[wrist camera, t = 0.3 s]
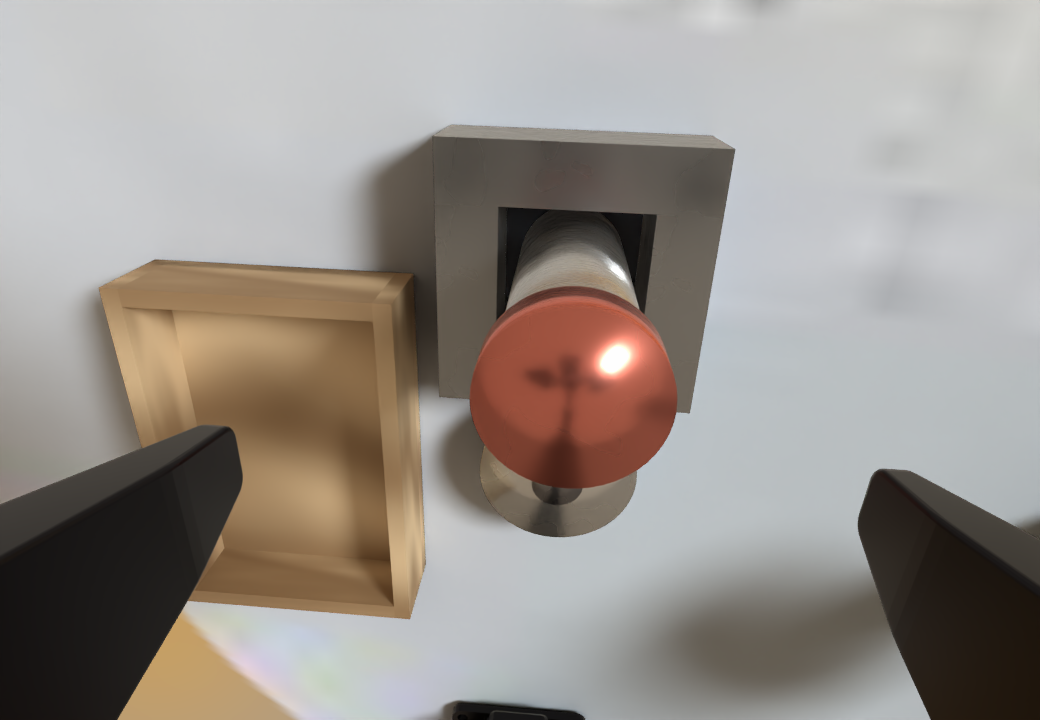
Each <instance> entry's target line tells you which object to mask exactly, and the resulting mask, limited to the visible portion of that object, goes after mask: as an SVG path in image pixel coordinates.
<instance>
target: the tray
mask: <svg viewBox="0 0 1040 720" xmlns="http://www.w3.org/2000/svg"><path fill="white" fill-rule="evenodd" d="M99 291H100V295H101V299H102V302H103V306H104V310H105V314H106V317H107V321H108V325H109V328H110V332H111V336H112V339H113V343H114V347H115V350H116V354H117V358H118V362H119V365H120V369H121V373H122V376H123V380H124V384H125V387H126V391H127V395H128V399H129V402H130V406H131V410H132V413H133V417H134V421H135V424H136V428H137V432H138V436H139V439H140V443H141V447H142V448H144V447H146V446H149V445H151V444H154V443H156V442H159V441H161V440H164V439H167V438H169V437H172V436H174V435H177V434H179V433H182V432H184V431H187V430H189V429H192V428H194V427H197V426H199V425H220V426H228V427H230V428H231V429H232V430H233V431H234V433H235V436H236V440H237V445H238V450H239V456H240V461H241V466H242V472H243V483H242V487H241V491H240V493H239V495H238V498H237V500H236V502H235V504H234V506H233V509H232V511H231V513H230V515H229V517H228V520H227V522H226V524H225V526H224V528H223V531H222V533H221V535H220V537H219V539H218V542H217V544H216V546H215V548H214V550H213V552H212V555H211V557H210V559H209V561H208V563H207V566H206V568H205V570H204V572H203V574H202V576H201V578H200V580H199V582H198V583H197V585H196V587H195V589H194V591H193V592H192V594H191V596H190V598H189V599H188V601H197V602H209V603H221V604H233V605H245V606H257V607H270V608H282V609H294V610H306V611H318V612H330V613H342V614H354V615H366V616H378V617H390V618H402V619H410V617H411V614H412V610H413V607H414V603H415V600H416V596H417V593H418V589H419V586H420V582H421V579H422V575H423V572H424V568H425V565H426V560H425V537H424V513H423V490H422V466H421V443H420V419H419V396H418V372H417V349H416V325H415V302H414V278H413V274H411V273H393V272H374V271H356V270H338V269H319V268H301V267H283V266H264V265H246V264H228V263H209V262H191V261H173V260H153V261H151V262H149V263H147V264H145V265H143V266H141V267H139V268H137V269H135V270H133V271H131V272H129V273H127V274H125V275H123V276H121V277H119V278H117V279H115V280H113V281H111V282H109V283H107V284H105V285H103V286H101V287H99Z"/></svg>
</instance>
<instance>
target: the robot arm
mask: <svg viewBox="0 0 1040 720" xmlns="http://www.w3.org/2000/svg"><path fill="white" fill-rule="evenodd" d="M242 483H243V472H242V466H241V461H240V456H239V450H238V445H237V440H236V436H235V433H234V431H233V430H232V429H231V428H230V427H228V426H220V425H199V426H197V427H194V428H192V429H189V430H187V431H184V432H182V433H179V434H177V435H174V436H172V437H169V438H167V439H164V440H161V441H159V442H156V443H154V444H151V445H149V446H146V447H144V448H141V449H139V450H136V451H134V452H131V453H129V454H126V455H124V456H121V457H119V458H116V459H114V460H111V461H109V462H106V463H104V464H101V465H99V466H96V467H94V468H91V469H88V470H86V471H83V472H81V473H78V474H76V475H73V476H71V477H68V478H66V479H63V480H61V481H58V482H56V483H53V484H51V485H48V486H46V487H43V488H41V489H38V490H36V491H33V492H31V493H28V494H26V495H23V496H21V497H18V498H15V499H13V500H10V501H8V502H5V503H3V504H0V720H117V719H118V717H119V716H120V714H121V712H122V711H123V709H124V707H125V706H126V704H127V702H128V701H129V699H130V697H131V695H132V694H133V692H134V690H135V689H136V687H137V685H138V684H139V682H140V680H141V679H142V677H143V675H144V673H145V672H146V670H147V669H148V667H149V665H150V663H151V662H152V660H153V658H154V657H155V655H156V653H157V652H158V650H159V648H160V647H161V645H162V643H163V641H164V640H165V638H166V636H167V635H168V633H169V631H170V630H171V628H172V626H173V624H174V623H175V621H176V619H177V618H178V616H179V615H180V613H181V611H182V609H183V608H184V606H185V604H186V603H187V601H188V599H189V598H190V596H191V594H192V592H193V591H194V589H195V587H196V585H197V583H198V582H199V580H200V578H201V576H202V574H203V572H204V570H205V568H206V566H207V563H208V561H209V559H210V557H211V555H212V552H213V550H214V548H215V546H216V544H217V542H218V539H219V537H220V535H221V533H222V531H223V528H224V526H225V524H226V522H227V520H228V517H229V515H230V513H231V511H232V509H233V506H234V504H235V502H236V500H237V498H238V495H239V493H240V491H241V487H242ZM858 532H859V536H860V539H861V542H862V545H863V548H864V551H865V554H866V557H867V560H868V563H869V566H870V570H871V573H872V576H873V579H874V582H875V585H876V588H877V591H878V594H879V597H880V600H881V603H882V606H883V609H884V612H885V615H886V618H887V621H888V623H889V626H890V629H891V632H892V634H893V637H894V639H895V641H896V644H897V646H898V648H899V651H900V653H901V655H902V658H903V660H904V662H905V664H906V666H907V668H908V671H909V673H910V675H911V677H912V679H913V682H914V684H915V686H916V688H917V690H918V693H919V695H920V697H921V699H922V701H923V704H924V706H925V708H926V710H927V712H928V714H929V717H930V719H931V720H1040V539H1038V538H1036V537H1034V536H1032V535H1030V534H1028V533H1027V532H1025V531H1023V530H1021V529H1019V528H1017V527H1015V526H1013V525H1011V524H1010V523H1008V522H1006V521H1004V520H1002V519H1000V518H998V517H996V516H994V515H993V514H991V513H989V512H987V511H985V510H983V509H981V508H979V507H977V506H976V505H974V504H972V503H970V502H968V501H966V500H964V499H962V498H961V497H959V496H957V495H955V494H953V493H951V492H949V491H947V490H945V489H944V488H942V487H940V486H938V485H936V484H934V483H932V482H930V481H928V480H927V479H925V478H923V477H921V476H919V475H917V474H915V473H913V472H911V471H907V470H896V469H879V470H877V471H875V472H874V474H873V475H872V477H871V479H870V482H869V485H868V488H867V491H866V495H865V498H864V501H863V504H862V507H861V510H860V513H859V517H858ZM452 719H453V720H585V718H584V717H583V716H582V715H580V714H576V713H565V712H554V711H543V710H531V709H520V708H509V707H498V706H487V705H475V704H464V703H463V704H458V705H456V706H455V707H454V711H453V717H452Z"/></svg>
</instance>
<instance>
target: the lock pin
mask: <svg viewBox="0 0 1040 720" xmlns="http://www.w3.org/2000/svg"><path fill="white" fill-rule="evenodd" d="M470 410H471V414H472V419H473V422H474V425H475V427H476V430H477V432H478V434H479V436H480V438H481V440H482V441H483V443H484V444H485V446H486V447H487V448H488V450H489V451H490V452H491V453H492V454H493V455H494V456H495V457H496V459H497V460H498V461H500V462H501V463H502V464H503V465H505V466H506V467H507V468H509V469H510V470H512V471H513V472H515V473H516V474H518V475H520V476H522V477H524V478H526V479H528V480H531V481H534V482H537V483H539V484H543V485H547V486H552V487H558V488H570V489H580V488H591V487H596V486H601V485H605V484H608V483H611V482H615V481H617V480H619V479H622V478H624V477H626V476H628V475H630V474H631V473H633V472H635V471H636V470H638V469H639V468H641V467H642V466H643V465H644V464H646V463H647V462H648V461H649V460H650V459H651V458H652V457H653V456H654V455H655V454H656V453H657V452H658V450H659V449H660V448H661V447H662V445H663V444H664V442H665V440H666V439H667V437H668V435H669V433H670V431H671V428H672V426H673V423H674V419H675V415H676V411H677V387H676V382H675V378H674V374H673V371H672V368H671V365H670V361H669V358H668V355H667V352H666V349H665V346H664V344H663V341H662V339H661V337H660V335H659V333H658V331H657V330H656V328H655V326H654V325H653V324H652V323H651V321H650V320H649V319H648V318H647V317H646V316H645V315H644V314H643V313H642V312H641V311H640V310H639V306H638V302H637V298H636V295H635V291H634V287H633V283H632V280H631V276H630V272H629V268H628V265H627V261H626V257H625V253H624V250H623V246H622V242H621V239H620V236H619V234H618V232H617V230H616V228H615V227H614V225H613V224H612V223H611V222H610V221H609V220H608V219H607V218H606V217H605V216H604V215H602V214H601V213H599V212H595V211H574V210H554V209H552V210H550V211H548V212H546V213H545V214H543V215H542V216H540V217H539V218H538V219H537V220H536V221H535V222H534V223H533V224H532V225H531V227H530V228H529V230H528V232H527V233H526V235H525V238H524V240H523V244H522V248H521V252H520V256H519V260H518V264H517V268H516V272H515V275H514V279H513V283H512V287H511V291H510V295H509V299H508V303H507V307H506V311H505V312H504V313H503V314H502V315H501V316H500V317H499V318H498V319H497V320H496V322H495V323H494V324H493V326H492V327H491V328H490V330H489V332H488V334H487V336H486V337H485V340H484V342H483V345H482V347H481V350H480V354H479V357H478V360H477V363H476V367H475V370H474V373H473V377H472V382H471V386H470Z"/></svg>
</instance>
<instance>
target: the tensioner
mask: <svg viewBox="0 0 1040 720" xmlns="http://www.w3.org/2000/svg"><path fill="white" fill-rule="evenodd" d="M432 137H433V175H434V213H435V251H436V289H437V327H438V366H439V397H448V398H463V399H470V386H471V382H472V377H473V373H474V370H475V367H476V363H477V360H478V357H479V354H480V350H481V347H482V345H483V342H484V340H485V337H486V336H487V334H488V332H489V330H490V328H491V327H492V326H493V324H494V323H495V322H496V320H497V319H498V318H499V317H500V316H501V315H502V314H503V313H504V312H505V285H506V243H507V207H513V208H533V209H554V210H574V211H595V212H616V213H636V214H643V221H642V230H641V238H640V247H639V255H638V264H637V272H636V281H635V289H634V291H635V295H636V298H637V302H638V306H639V310H640V311H641V312H642V313H643V314H644V315H645V316H646V317H647V318H648V319H649V320H650V321H651V323H652V324H653V325H654V326H655V328H656V330H657V331H658V333H659V335H660V337H661V339H662V341H663V344H664V346H665V349H666V352H667V355H668V358H669V361H670V365H671V368H672V371H673V374H674V378H675V382H676V387H677V411H676V412H681V413H690V409H691V403H692V397H693V391H694V386H695V380H696V374H697V368H698V362H699V357H700V351H701V345H702V339H703V333H704V328H705V322H706V316H707V310H708V304H709V299H710V293H711V287H712V281H713V275H714V270H715V264H716V258H717V252H718V246H719V241H720V235H721V229H722V223H723V217H724V212H725V206H726V200H727V194H728V188H729V183H730V177H731V171H732V165H733V159H734V154H735V149H734V148H732V147H731V146H729V145H727V144H726V143H724V142H722V141H721V140H719V139H717V138H715V137H714V136H707V135H683V134H660V133H636V132H612V131H589V130H565V129H541V128H517V127H494V126H470V125H450V126H448V127H447V128H445V129H443V130H442V131H440V132H438V133H437V134H435V135H433V136H432ZM636 478H637V470H636V471H635V472H633V473H631V474H630V475H628V476H626V477H624V478H622V479H619V480H617V481H615V482H611V483H608V484H605V485H601V486H596V487H591V488H580V489H570V488H558V487H552V486H547V485H543V484H539V483H537V482H534V481H531V480H528V479H526V478H524V477H522V476H520V475H518V474H516V473H515V472H513V471H512V470H510V469H509V468H507V467H506V466H505V465H503V464H502V463H501V462H500V461H498V460H497V459H496V457H495V456H494V455H493V454H492V453H491V452H490V451H489V450H488V448H487V447H486V446H485V444H484V449H483V453H482V458H481V462H480V479H481V484H482V488H483V490H484V493H485V495H486V497H487V499H488V500H489V502H490V504H491V505H492V506H493V507H494V509H495V510H496V511H497V512H498V513H499V514H500V515H501V516H502V517H504V518H505V519H506V520H507V521H509V522H510V523H512V524H514V525H515V526H517V527H519V528H521V529H523V530H525V531H528V532H531V533H534V534H538V535H543V536H550V537H571V536H577V535H583V534H586V533H589V532H592V531H595V530H597V529H599V528H601V527H603V526H605V525H607V524H608V523H610V522H611V521H612V520H614V519H615V518H616V517H617V516H618V515H619V514H620V513H621V512H622V511H623V510H624V508H625V507H626V506H627V504H628V503H629V501H630V499H631V497H632V495H633V492H634V490H635V485H636Z"/></svg>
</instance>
